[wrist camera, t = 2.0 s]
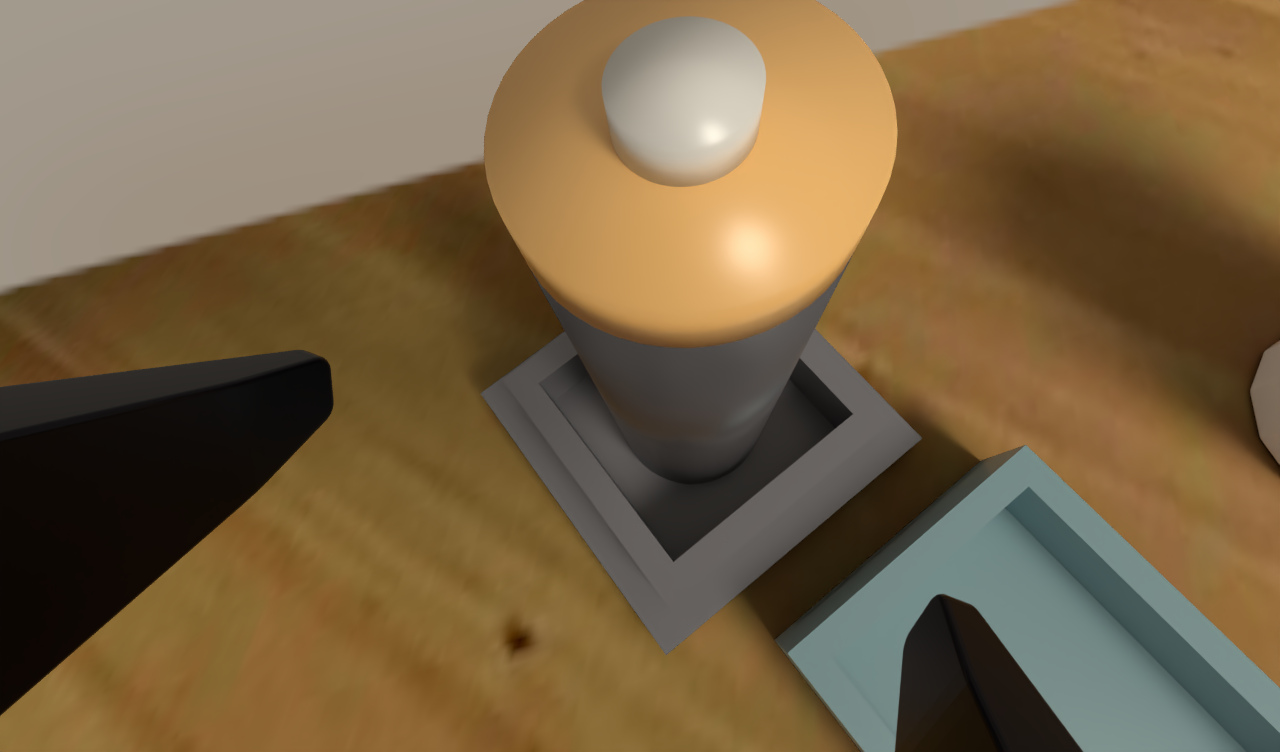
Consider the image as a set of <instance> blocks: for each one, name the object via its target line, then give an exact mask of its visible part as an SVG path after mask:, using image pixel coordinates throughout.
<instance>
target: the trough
mask: <svg viewBox="0 0 1280 752" xmlns="http://www.w3.org/2000/svg"><path fill="white" fill-rule="evenodd" d="M937 594H946V595H948V596H951V597H953V598H956V599H959V600H961V601H964V602H967V603H969V604H971V605H973V606H974V607H975V608H976V609H977V610H978V611H979V612H980V613H981V615H982V616H983V618H984V619H985V620H986V622H987V623H988V624H989V626H990V627H991V628H992V630H993V631H994V632H995V634H996V635H997V636H998V638H999V639H1000V640H1001V642H1002V643H1003V644H1004V646H1005V647H1006V648H1007V650H1008V651H1009V652H1010V654H1011V655H1012V656H1013V658H1014V659H1015V660H1016V662H1017V663H1018V664H1019V666H1020V667H1021V669H1022V670H1023V671H1024V673H1025V674H1026V675H1027V677H1028V678H1029V679H1030V681H1031V682H1032V683H1033V685H1034V686H1035V687H1036V689H1037V690H1038V691H1039V693H1040V694H1041V695H1042V697H1043V698H1044V699H1045V701H1046V702H1047V703H1048V705H1049V706H1050V707H1051V709H1052V710H1053V711H1054V713H1055V714H1056V716H1057V717H1058V718H1059V720H1060V721H1061V722H1062V724H1063V725H1064V726H1065V728H1066V729H1067V730H1068V732H1069V733H1070V734H1071V736H1072V737H1073V738H1074V740H1075V741H1076V742H1077V744H1078V745H1079V746H1080V748H1081V749H1082V750H1083V752H1280V688H1279V687H1278V686H1277V685H1276V684H1275V683H1274V682H1273V681H1272V680H1271V679H1270V678H1269V677H1268V676H1267V675H1266V674H1265V673H1263V672H1262V671H1261V670H1260V669H1259V668H1258V667H1257V666H1256V665H1255V664H1254V663H1253V662H1252V661H1251V660H1250V659H1249V658H1248V657H1247V656H1246V655H1245V654H1244V653H1243V652H1242V651H1241V650H1239V649H1238V648H1237V647H1236V646H1235V645H1234V644H1233V643H1232V642H1231V641H1230V640H1229V639H1228V638H1227V637H1226V636H1225V635H1224V634H1223V633H1222V632H1221V631H1220V630H1219V629H1218V628H1216V627H1215V626H1214V625H1213V624H1212V623H1211V622H1210V621H1209V620H1208V619H1207V618H1206V617H1205V616H1204V615H1203V614H1202V613H1201V612H1200V611H1199V610H1198V609H1197V608H1196V607H1195V606H1194V605H1192V604H1191V603H1190V602H1189V601H1188V600H1187V599H1186V598H1185V597H1184V596H1183V595H1182V594H1181V593H1180V592H1179V591H1178V590H1177V589H1176V588H1175V587H1174V586H1173V585H1172V584H1171V583H1169V582H1168V581H1167V580H1166V579H1165V578H1164V577H1163V576H1162V575H1161V574H1160V573H1159V572H1158V571H1157V570H1156V569H1155V568H1154V567H1153V566H1152V565H1151V564H1150V563H1149V562H1148V561H1147V560H1145V559H1144V558H1143V557H1142V556H1141V555H1140V554H1139V553H1138V552H1137V551H1136V550H1135V549H1134V548H1133V547H1132V546H1131V545H1130V544H1129V543H1128V542H1127V541H1126V540H1125V539H1124V538H1122V537H1121V536H1120V535H1119V534H1118V533H1117V532H1116V531H1115V530H1114V529H1113V528H1112V527H1111V526H1110V525H1109V524H1108V523H1107V522H1106V521H1105V520H1104V519H1103V518H1102V517H1101V516H1100V515H1098V514H1097V513H1096V512H1095V511H1094V510H1093V509H1092V508H1091V507H1090V506H1089V505H1088V504H1087V503H1086V502H1085V501H1084V500H1083V499H1082V498H1081V497H1080V496H1079V495H1078V494H1077V493H1075V492H1074V491H1073V490H1072V489H1071V488H1070V487H1069V486H1068V485H1067V484H1066V483H1065V482H1064V481H1063V480H1062V479H1061V478H1060V477H1059V476H1058V475H1057V474H1056V473H1055V472H1054V471H1053V470H1051V469H1050V468H1049V467H1048V466H1047V465H1046V464H1045V463H1044V462H1043V461H1042V460H1041V459H1040V458H1039V457H1038V456H1037V455H1036V454H1035V453H1034V452H1033V451H1032V450H1031V449H1030V448H1028V447H1027V446H1026V445H1024V446H1021V447H1018V448H1016V449H1013V450H1010V451H1007V452H1004V453H1001V454H998V455H996V456H993V457H990V458H987V459H984V460H981V461H980V462H979V463H978V464H977V465H975V466H974V467H973V468H972V469H971V470H970V471H969V472H967V473H966V474H965V475H964V476H963V477H962V478H960V479H959V480H958V481H957V482H956V483H955V484H954V485H952V486H951V487H950V488H949V489H948V490H947V491H945V492H944V493H943V494H942V495H941V496H940V497H939V498H937V499H936V500H935V501H934V502H933V503H932V504H931V505H929V506H928V507H927V508H926V509H925V510H924V511H922V512H921V513H920V514H919V515H918V516H917V517H916V518H914V519H913V520H912V521H911V522H910V523H909V524H907V525H906V526H905V527H904V528H903V529H902V530H901V531H899V532H898V533H897V534H896V535H895V536H894V537H892V538H891V539H890V540H889V541H888V542H887V543H886V544H884V545H883V546H882V547H881V548H880V549H879V550H877V551H876V552H875V553H874V554H873V555H872V556H871V557H869V558H868V559H867V560H866V561H865V562H864V563H862V564H861V565H860V566H859V567H858V568H857V569H856V570H854V571H853V572H852V573H851V574H850V575H849V576H847V577H846V578H845V579H844V580H843V581H842V582H841V583H839V584H838V585H837V586H836V587H835V588H834V589H832V590H831V591H830V592H829V593H828V594H827V595H826V596H824V597H823V598H822V599H821V600H820V601H819V602H818V603H816V604H815V605H814V606H813V607H812V608H811V609H809V610H808V611H807V612H806V613H805V614H804V615H803V616H801V617H800V618H799V619H798V620H797V621H796V622H794V623H793V624H792V625H791V626H790V627H789V628H788V629H786V630H785V631H784V632H783V633H782V634H781V635H779V636H778V637H777V638H776V639H775V640H774V641H775V642H776V643H777V644H778V646H779V647H780V648H781V650H782V651H783V652H784V653H785V655H786V656H787V657H788V659H789V660H790V661H791V662H792V664H793V665H794V666H795V668H796V669H797V670H798V671H799V673H800V674H801V675H802V677H803V678H804V679H805V680H806V682H807V683H808V684H809V686H810V687H811V688H812V689H813V691H814V692H815V693H816V695H817V696H818V697H819V698H820V700H821V701H822V702H823V704H824V705H825V706H826V707H827V709H828V710H829V711H830V712H831V714H832V715H833V716H834V718H835V719H836V720H837V721H838V723H839V724H840V725H841V727H842V728H843V729H844V730H845V732H846V733H847V734H848V736H849V737H850V738H851V739H852V741H853V742H854V743H855V745H856V746H857V747H858V748H859V750H860V751H861V752H895V742H896V730H897V718H898V705H899V693H900V681H901V669H902V656H903V648H904V644H905V640H906V638H907V635H908V633H909V632H910V630H911V629H912V627H913V626H914V624H915V623H916V621H917V620H918V618H919V617H920V615H921V614H922V612H923V611H924V609H925V608H926V606H927V605H928V603H929V602H930V600H931V599H932V598H933V597H934V596H936V595H937Z"/></svg>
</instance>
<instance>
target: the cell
mask: <svg viewBox="0 0 1280 752" xmlns="http://www.w3.org/2000/svg"><path fill="white" fill-rule="evenodd" d="M897 133H898V131H897V120H896V109H895V105H894V101H893V97H892V93H891V89H890V86H889V84H888V81H887V79H886V77H885V75H884V72H883V70H882V68H881V66H880V64H879V63H878V61H877V59H876V58H875V56H874V55H873V53H872V51H871V50H870V48H869V47H868V46H867V45H866V43H864V41H863V40H862V39H861V38H860V36H859V35H858V34H857V33H856V32H855V31H854V30H853V29H852V28H851V27H850V26H849V25H848V24H847V23H846V22H844V21H843V20H842V19H841V18H840V17H839V16H838V15H836V14H835V13H834V12H832V11H831V10H829V9H828V8H826V7H825V6H823V5H822V4H820V3H819V2H817V1H815V0H584V1H582V2H580V3H579V4H577V5H575V6H573V7H572V8H570V9H568V10H567V11H565V12H564V13H563V14H561V15H560V16H559V17H557V18H556V19H554V20H553V21H552V22H550V23H549V24H548V25H547V26H546V27H545V28H543V29H542V30H541V31H540V32H539V33H538V34H537V35H536V36H535V37H534V38H533V39H532V40H531V41H530V42H529V43H528V44H527V45H526V46H525V48H524V49H523V50H522V51H521V52H520V54H519V55H518V56H517V57H516V59H515V60H514V62H513V63H512V65H511V66H510V68H509V69H508V71H507V72H506V74H505V75H504V77H503V79H502V81H501V83H500V86H499V88H498V90H497V92H496V94H495V96H494V99H493V102H492V105H491V108H490V111H489V114H488V119H487V125H486V131H485V136H484V162H485V169H486V176H487V182H488V185H489V188H490V191H491V195H492V198H493V201H494V203H495V205H496V207H497V210H498V212H499V214H500V216H501V218H502V220H503V222H504V224H505V225H506V227H507V229H508V231H509V232H510V234H511V236H512V238H513V240H514V241H515V243H516V245H517V247H518V248H519V250H520V252H521V254H522V256H523V257H524V259H525V261H526V263H527V264H528V266H529V268H530V270H531V272H532V273H533V275H534V277H535V279H536V280H537V282H538V284H539V286H540V288H541V289H542V291H543V293H544V295H545V296H546V298H547V300H548V302H549V304H550V305H551V307H552V309H553V311H554V312H555V314H556V316H557V318H558V320H559V321H560V323H561V325H562V327H563V329H564V330H565V332H566V334H567V336H568V337H569V339H570V341H571V343H572V345H573V346H574V348H575V350H576V352H577V353H578V355H579V357H580V359H581V361H582V362H583V364H584V366H585V368H586V369H587V371H588V373H589V375H590V377H591V378H592V380H593V382H594V384H595V385H596V387H597V389H598V391H599V393H600V394H601V396H602V398H603V400H604V401H605V403H606V405H607V407H608V409H609V410H610V412H611V414H612V416H613V417H614V419H615V421H616V423H617V425H618V426H619V428H620V430H621V432H622V433H623V435H624V437H625V439H626V441H627V442H628V444H629V446H630V448H631V449H632V451H633V452H634V454H635V455H636V457H637V458H638V459H639V460H640V461H641V463H642V464H643V465H644V466H646V467H647V468H648V469H649V470H650V471H652V472H653V473H655V474H657V475H658V476H660V477H663V478H665V479H667V480H670V481H673V482H678V483H683V484H701V483H707V482H711V481H714V480H717V479H720V478H722V477H724V476H726V475H728V474H729V473H731V472H732V471H734V470H735V469H736V468H737V467H739V466H740V465H741V464H742V463H743V462H744V460H745V459H746V458H747V457H748V456H749V454H750V452H751V451H752V449H753V447H754V445H755V444H756V442H757V440H758V438H759V436H760V434H761V432H762V430H763V428H764V426H765V424H766V422H767V420H768V418H769V416H770V414H771V413H772V411H773V409H774V407H775V405H776V403H777V401H778V399H779V397H780V395H781V393H782V391H783V389H784V387H785V385H786V383H787V381H788V380H789V378H790V376H791V374H792V372H793V370H794V368H795V366H796V364H797V362H798V360H799V358H800V356H801V354H802V352H803V350H804V348H805V347H806V345H807V343H808V341H809V339H810V337H811V335H812V333H813V331H814V329H815V327H816V325H817V323H818V321H819V319H820V317H821V315H822V314H823V312H824V310H825V308H826V306H827V304H828V302H829V300H830V298H831V296H832V294H833V292H834V290H835V288H836V286H837V284H838V282H839V281H840V279H841V277H842V275H843V273H844V271H845V269H846V267H847V265H848V263H849V261H850V259H851V257H852V255H853V253H854V251H855V249H856V248H857V246H858V244H859V242H860V240H861V238H862V236H863V234H864V232H865V230H866V228H867V226H868V224H869V222H870V220H871V218H872V216H873V215H874V213H875V211H876V209H877V207H878V205H879V203H880V201H881V198H882V196H883V194H884V191H885V189H886V187H887V184H888V182H889V180H890V176H891V172H892V168H893V164H894V160H895V156H896V146H897Z"/></svg>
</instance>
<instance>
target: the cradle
mask: <svg viewBox="0 0 1280 752" xmlns="http://www.w3.org/2000/svg"><path fill="white" fill-rule="evenodd" d="M481 395H482V396H483V398H484V399H485V401H486V402H487V403H488V405H489V406H490V408H491V409H492V410H493V412H494V413H495V415H496V416H497V417H498V419H499V420H500V422H501V423H502V424H503V426H504V427H505V429H506V430H507V432H508V433H509V434H510V436H511V437H512V439H513V440H514V441H515V443H516V444H517V446H518V447H519V448H520V450H521V451H522V453H523V454H524V455H525V457H526V458H527V460H528V461H529V463H530V464H531V465H532V467H533V468H534V470H535V471H536V472H537V474H538V475H539V477H540V478H541V479H542V481H543V482H544V484H545V485H546V486H547V488H548V489H549V491H550V492H551V494H552V495H553V496H554V498H555V499H556V501H557V502H558V503H559V505H560V506H561V508H562V509H563V510H564V512H565V513H566V515H567V516H568V517H569V519H570V520H571V522H572V523H573V525H574V526H575V527H576V529H577V530H578V532H579V533H580V534H581V536H582V537H583V539H584V540H585V541H586V543H587V544H588V546H589V547H590V549H591V550H592V551H593V553H594V554H595V556H596V557H597V558H598V560H599V561H600V563H601V564H602V565H603V567H604V568H605V570H606V571H607V572H608V574H609V575H610V577H611V578H612V580H613V581H614V582H615V584H616V585H617V587H618V588H619V589H620V591H621V592H622V594H623V595H624V596H625V598H626V599H627V601H628V602H629V603H630V605H631V606H632V608H633V609H634V611H635V612H636V613H637V615H638V616H639V618H640V619H641V620H642V622H643V623H644V625H645V626H646V627H647V629H648V630H649V632H650V633H651V634H652V636H653V637H654V639H655V640H656V642H657V643H658V644H659V646H660V647H661V649H662V650H663V651H664V653H665V654H666V655H667V654H668V653H669V652H671V651H672V650H673V649H674V648H675V647H676V646H678V645H679V644H680V643H681V642H682V641H683V640H685V639H686V638H687V637H688V636H689V635H691V634H692V633H693V632H694V631H695V630H696V629H698V628H699V627H700V626H701V625H702V624H704V623H705V622H706V621H707V620H708V619H709V618H711V617H712V616H713V615H714V614H715V613H717V612H718V611H719V610H720V609H721V608H722V607H724V606H725V605H726V604H727V603H728V602H730V601H731V600H732V599H733V598H734V597H735V596H737V595H738V594H739V593H740V592H741V591H743V590H744V589H745V588H746V587H747V586H748V585H750V584H751V583H752V582H753V581H754V580H756V579H757V578H758V577H759V576H760V575H761V574H763V573H764V572H765V571H766V570H767V569H769V568H770V567H771V566H772V565H773V564H774V563H776V562H777V561H778V560H779V559H780V558H782V557H783V556H784V555H785V554H786V553H787V552H789V551H790V550H791V549H792V548H793V547H795V546H796V545H797V544H798V543H799V542H800V541H802V540H803V539H804V538H805V537H806V536H808V535H809V534H810V533H811V532H812V531H813V530H815V529H816V528H817V527H818V526H819V525H821V524H822V523H823V522H824V521H825V520H826V519H828V518H829V517H830V516H831V515H832V514H834V513H835V512H836V511H837V510H838V509H839V508H841V507H842V506H843V505H844V504H845V503H847V502H848V501H849V500H850V499H851V498H852V497H854V496H855V495H856V494H857V493H858V492H860V491H861V490H862V489H863V488H864V487H865V486H867V485H868V484H869V483H870V482H871V481H873V480H874V479H875V478H876V477H877V476H878V475H880V474H881V473H882V472H883V471H884V470H886V469H887V468H888V467H889V466H890V465H891V464H893V463H894V462H895V461H896V460H897V459H898V458H900V457H901V456H902V455H903V454H904V453H906V452H907V451H908V450H909V449H910V448H911V447H913V446H914V445H915V444H916V443H917V442H919V441H920V440H921V439H922V437H921V436H920V435H919V434H918V433H917V432H916V431H915V430H914V429H913V428H912V427H911V426H910V425H909V424H908V423H907V422H906V421H905V420H904V419H903V418H902V417H901V416H900V415H899V414H898V413H897V412H896V411H895V410H894V409H893V408H892V407H891V406H890V405H889V404H888V403H887V402H886V401H885V400H884V399H883V398H882V397H881V396H880V395H879V394H878V393H877V392H876V391H875V390H874V389H873V387H872V386H871V385H870V384H869V383H868V382H867V381H866V380H865V379H864V378H863V377H862V376H861V375H860V374H859V373H858V372H857V371H856V370H855V369H854V368H853V367H852V366H851V365H850V364H849V363H848V362H847V361H846V360H845V359H844V358H843V357H842V356H841V355H840V354H839V353H838V352H837V351H836V350H835V349H834V348H833V347H832V346H831V345H830V344H829V343H828V342H827V341H826V340H825V339H824V338H823V337H822V335H821V334H820V333H819V332H818V331H817V330H816V329H814V331H813V333H812V335H811V337H810V339H809V341H808V343H807V345H806V347H805V348H804V350H803V352H802V354H801V356H800V358H799V360H798V362H797V364H796V366H795V368H794V370H793V372H792V374H791V376H790V378H789V380H788V381H787V383H786V385H785V387H784V389H783V391H782V393H781V395H780V397H779V399H778V401H777V403H776V405H775V407H774V409H773V411H772V413H771V414H770V416H769V418H768V420H767V422H766V424H765V426H764V428H763V430H762V432H761V434H760V436H759V438H758V440H757V442H756V444H755V445H754V447H753V449H752V451H751V452H750V454H749V456H748V457H747V458H746V459H745V460H744V462H743V463H742V464H741V465H740V466H739V467H737V468H736V469H735V470H734V471H732V472H731V473H729V474H728V475H726V476H724V477H722V478H720V479H717V480H714V481H711V482H707V483H701V484H683V483H678V482H673V481H670V480H667V479H665V478H663V477H660V476H658V475H657V474H655V473H653V472H652V471H650V470H649V469H648V468H647V467H646V466H644V465H643V464H642V463H641V461H640V460H639V459H638V458H637V457H636V455H635V454H634V452H633V451H632V449H631V448H630V446H629V444H628V442H627V441H626V439H625V437H624V435H623V433H622V432H621V430H620V428H619V426H618V425H617V423H616V421H615V419H614V417H613V416H612V414H611V412H610V410H609V409H608V407H607V405H606V403H605V401H604V400H603V398H602V396H601V394H600V393H599V391H598V389H597V387H596V385H595V384H594V382H593V380H592V378H591V377H590V375H589V373H588V371H587V369H586V368H585V366H584V364H583V362H582V361H581V359H580V357H579V355H578V353H577V352H576V350H575V348H574V346H573V345H572V343H571V341H570V339H569V337H568V336H567V334H566V332H565V331H564V332H563V333H561V334H560V335H559V336H557V337H556V338H555V339H553V340H552V341H551V342H549V343H548V344H547V345H545V346H544V347H542V348H541V349H540V350H538V351H537V352H536V353H534V354H533V355H532V356H530V357H529V358H528V359H526V360H525V361H524V362H522V363H521V364H520V365H518V366H517V367H516V368H514V369H513V370H511V371H510V372H509V373H507V374H506V375H505V376H503V377H502V378H501V379H499V380H498V381H497V382H495V383H494V384H493V385H491V386H490V387H489V388H487V389H486V390H484V391H483V392H482V393H481Z"/></svg>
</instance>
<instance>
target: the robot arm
mask: <svg viewBox="0 0 1280 752" xmlns="http://www.w3.org/2000/svg"><path fill="white" fill-rule="evenodd" d="M332 409H333V390H332V379H331V369H330V365H329V363H328V361H327V360H326V359H325V358H323V357H321V356H318V355H315V354H313V353H310V352H307V351H304V350H294V351H286V352H278V353H270V354H262V355H254V356H246V357H238V358H230V359H222V360H214V361H206V362H198V363H190V364H182V365H174V366H166V367H158V368H150V369H142V370H134V371H126V372H118V373H109V374H101V375H93V376H85V377H77V378H69V379H61V380H53V381H45V382H37V383H29V384H21V385H13V386H5V387H0V716H1V715H2V714H3V713H4V712H5V711H6V710H7V709H9V708H10V707H11V706H12V705H13V704H14V703H15V702H17V701H18V700H19V699H20V698H21V697H22V696H24V695H25V694H26V693H27V692H28V691H29V690H30V689H32V688H33V687H34V686H35V685H36V684H37V683H38V682H40V681H41V680H42V679H43V678H44V677H45V676H46V675H48V674H49V673H50V672H51V671H52V670H53V669H55V668H56V667H57V666H58V665H59V664H60V663H61V662H63V661H64V660H65V659H66V658H67V657H68V656H69V655H71V654H72V653H73V652H74V651H75V650H76V649H78V648H79V647H80V646H81V645H82V644H83V643H84V642H86V641H87V640H88V639H89V638H90V637H91V636H92V635H94V634H95V633H96V632H97V631H98V630H99V629H100V628H102V627H103V626H104V625H105V624H106V623H107V622H109V621H110V620H111V619H112V618H113V617H114V616H115V615H117V614H118V613H119V612H120V611H121V610H122V609H123V608H125V607H126V606H127V605H128V604H129V603H130V602H132V601H133V600H134V599H135V598H136V597H137V596H138V595H140V594H141V593H142V592H143V591H144V590H145V589H146V588H148V587H149V586H150V585H151V584H152V583H153V582H154V581H156V580H157V579H158V578H159V577H160V576H161V575H163V574H164V573H165V572H166V571H167V570H168V569H169V568H171V567H172V566H173V565H174V564H175V563H176V562H177V561H179V560H180V559H181V558H182V557H183V556H184V555H186V554H187V553H188V552H189V551H190V550H191V549H192V548H194V547H195V546H196V545H197V544H198V543H199V542H200V541H202V540H203V539H204V538H205V537H206V536H207V535H208V534H210V533H211V532H212V531H213V530H214V529H215V528H217V527H218V526H219V525H220V524H221V523H222V522H223V521H225V520H226V519H227V518H228V517H229V516H230V515H231V514H233V513H234V512H235V511H236V510H237V509H238V508H239V507H241V506H242V505H243V504H244V503H245V502H246V501H247V500H248V499H250V498H251V497H252V496H253V495H254V494H255V493H256V492H257V491H258V490H259V489H260V488H261V487H262V486H263V485H264V484H265V483H266V482H267V481H268V480H269V479H270V478H271V477H272V476H273V475H274V474H275V473H276V472H277V471H278V470H279V469H280V468H281V467H282V466H283V465H284V464H285V463H286V462H287V461H288V459H289V458H290V457H291V456H292V455H293V454H294V453H295V452H296V451H297V450H298V449H299V448H300V447H301V446H302V445H303V444H304V443H305V442H306V441H307V440H308V439H309V438H310V436H311V435H312V434H313V433H314V432H315V431H316V430H317V429H318V428H319V427H320V426H321V425H322V424H323V423H324V422H325V421H326V420H327V418H328V417H329V415H330V414H331V412H332ZM895 752H1083V750H1082V749H1081V748H1080V746H1079V745H1078V744H1077V742H1076V741H1075V740H1074V738H1073V737H1072V736H1071V734H1070V733H1069V732H1068V730H1067V729H1066V728H1065V726H1064V725H1063V724H1062V722H1061V721H1060V720H1059V718H1058V717H1057V716H1056V714H1055V713H1054V711H1053V710H1052V709H1051V707H1050V706H1049V705H1048V703H1047V702H1046V701H1045V699H1044V698H1043V697H1042V695H1041V694H1040V693H1039V691H1038V690H1037V689H1036V687H1035V686H1034V685H1033V683H1032V682H1031V681H1030V679H1029V678H1028V677H1027V675H1026V674H1025V673H1024V671H1023V670H1022V669H1021V667H1020V666H1019V664H1018V663H1017V662H1016V660H1015V659H1014V658H1013V656H1012V655H1011V654H1010V652H1009V651H1008V650H1007V648H1006V647H1005V646H1004V644H1003V643H1002V642H1001V640H1000V639H999V638H998V636H997V635H996V634H995V632H994V631H993V630H992V628H991V627H990V626H989V624H988V623H987V622H986V620H985V619H984V618H983V616H982V615H981V613H980V612H979V611H978V610H977V609H976V608H975V607H974V606H973V605H971V604H969V603H967V602H964V601H961V600H959V599H956V598H953V597H951V596H948V595H946V594H937V595H936V596H934V597H933V598H932V599H931V600H930V602H929V603H928V605H927V606H926V608H925V609H924V611H923V612H922V614H921V615H920V617H919V618H918V620H917V621H916V623H915V624H914V626H913V627H912V629H911V630H910V632H909V633H908V635H907V638H906V640H905V644H904V648H903V656H902V669H901V681H900V693H899V705H898V718H897V730H896V742H895Z"/></svg>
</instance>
